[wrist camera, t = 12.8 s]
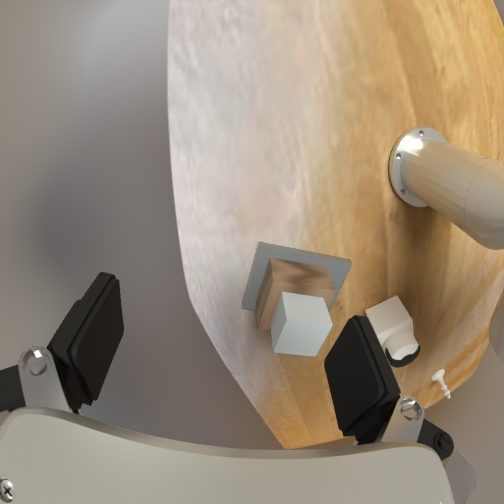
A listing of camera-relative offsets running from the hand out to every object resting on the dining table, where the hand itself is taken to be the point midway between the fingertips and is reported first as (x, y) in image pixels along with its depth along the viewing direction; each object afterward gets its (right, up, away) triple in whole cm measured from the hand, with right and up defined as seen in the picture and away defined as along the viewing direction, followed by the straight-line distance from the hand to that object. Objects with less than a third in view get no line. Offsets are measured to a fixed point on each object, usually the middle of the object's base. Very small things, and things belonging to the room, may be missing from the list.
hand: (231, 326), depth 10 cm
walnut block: (+7, -3, +33) cm, 33 cm away
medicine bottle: (+26, -9, +38) cm, 47 cm away
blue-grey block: (+7, -5, +27) cm, 29 cm away
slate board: (+8, -2, +34) cm, 35 cm away
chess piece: (+58, -35, +53) cm, 86 cm away
